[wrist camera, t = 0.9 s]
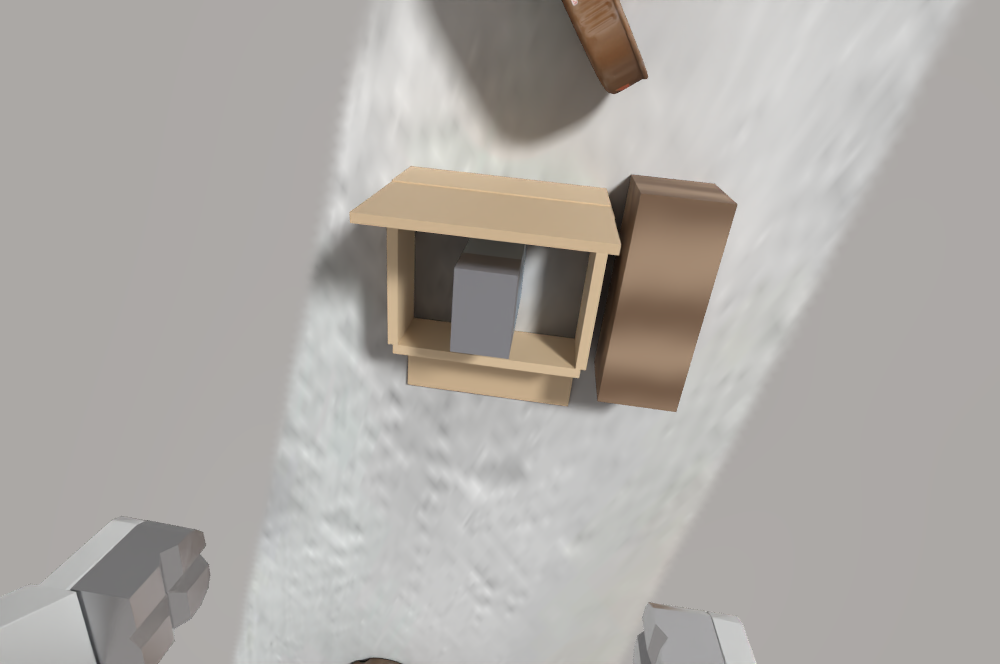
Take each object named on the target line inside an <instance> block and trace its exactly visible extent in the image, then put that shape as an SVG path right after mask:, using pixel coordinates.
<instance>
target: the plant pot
mask: <svg viewBox="0 0 1000 664" xmlns="http://www.w3.org/2000/svg"><path fill="white" fill-rule="evenodd" d="M353 664H401V663H398V662H395V661H391V660H386V659H380V658H371V659H369V660H368V661H366V662H364V663H361V662H360V661H357V662H354V663H353Z"/></svg>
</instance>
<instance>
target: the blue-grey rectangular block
mask: <svg viewBox="0 0 1000 664" xmlns="http://www.w3.org/2000/svg"><path fill="white" fill-rule="evenodd" d="M526 246H527V244H521V243H512V242H504V241H496V240H487V239H479V238H471V237H470V239H469V241H468V243H467V245H466V247H465V249H464V250H463V252H462V254H461V256H460V258H459V260H458V262H457V264H456V266H455V267H454V281H453V301H452V320H451V340H450V351H451V352H458V353H466V354H473V355H481V356H488V357H496V358H503V359H509V355H510V350H511V345H512V340H513V334H514V329H515V324H516V319H517V314H518V309H519V304H520V298H521V289H522V281H523V272H524V263H525V255H526Z"/></svg>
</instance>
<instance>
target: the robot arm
mask: <svg viewBox="0 0 1000 664" xmlns="http://www.w3.org/2000/svg"><path fill="white" fill-rule="evenodd" d="M205 546H206V543H205V539H204V534H203V532H201V531H199V530H195V529H190V528H185V527H179V526H174V525H169V524H164V523H158V522H153V521H148V520H147V521H146V520H140V519H135V518H129V517H124V516H121V517H118V518H116V519H113V520H111V521H110V522H109V523H108V524H106V525H105V526H104V527H103V528H102V529H101V530H100V531H99V532H97V533H96V534H95V535H94V536H93V537H92V538H91V539H90V540H89V541H87V542H86V543H85V544H84V545H83V546H82V547H81V548H79V549H78V550H77V551H76V552H75V553H74V554H73V555H72V556H71V557H70V558H68V559H67V560H66V561H65V562H64V563H63V564H62V565H60V566H59V567H58V568H57V569H56V570H55V571H54V572H52V573H51V574H50V575H49V576H48V577H47V578H46V579H45V580H44V581H42V582H41V583H40V584H39V585H35V584H28V585H26V586H24V587H22V588H19V589H17V590H15V591H12V592H10V593H8V594H6V595H3V596H1V597H0V664H158V663H159V662H160V660H161V659H162V658H163V656H164V655H165V653H166V652H167V651H168V649H169V648H170V647H171V646H172V644H173V643H174V641H175V639H174V636H175V635H174V634H175V633H174V632H175V631H174V630H175V628H176V627H178V626H180V625H182V624H183V623H185V622H187V621H188V620H190V619H191V618H192V617H193V616H194V614H195V613H196V611H197V610H198V608H199V607H200V606H201V604H202V602H203V600H204V597H205V595H206V592H207V590H208V588H209V580H210V569H209V564H208V563H207V562H206V561H205V559H204V558H203V557H202V556H201V555H200V553H201V551H202V550H203V549H204V548H205ZM642 619H643V626H644V632H642V633H641V634H639V635H638V636H637V639H636V643H635V648H634V656H633V664H757V663H756V660H755V658H754V655H753V652H752V649H751V646H750V644H749V641H748V638H747V635H746V632H745V629H744V627H743V624H742V621H741V620H740V619H739V618H738V617H737V616H734V615H728V614H722V613H715V612H709V611H707V612H705V611H704V610H697V609H691V608H684V607H677V606H670V605H664V604H657V603H650V602H648V604H647V605H646V607H645V610H644V613H643V617H642Z"/></svg>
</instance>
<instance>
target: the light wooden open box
mask: <svg viewBox="0 0 1000 664" xmlns="http://www.w3.org/2000/svg"><path fill="white" fill-rule="evenodd" d="M350 223H355V224H363V225H372V226H380V227H387V312H388V344H393V353H395V354H402V355H408V384H409V385H416V386H424V387H431V388H438V389H445V390H453V391H460V392H467V393H474V394H482V395H489V396H496V397H503V398H511V399H518V400H525V401H532V402H540V403H547V404H554V405H561V406H568V402H569V397H570V391H571V386H572V380H573V378H579V376H580V370H586V367H587V361H588V356H589V351H590V346H591V340H592V335H593V330H594V325H595V319H596V314H597V309H598V304H599V299H600V293H601V288H602V283H603V278H604V272H605V267H606V262H607V257H608V254H611V255H619V253H620V248H621V242H620V238H619V235H618V231H617V228H616V224H615V216H614V213H613V209H612V206H611V202H610V200H609V196H608V192H607V189H606V188H598V187H589V186H580V185H571V184H562V183H554V182H545V181H536V180H527V179H518V178H510V177H501V176H492V175H483V174H475V173H466V172H457V171H448V170H439V169H431V168H422V167H413V166H411V167H409V168H408V169H406V170H405V171H404V172H402V173H401V174H399V175H398V176H397V177H395V178H394V179H392V182H390V183H389V184H388V185H386V186H385V187H384V188H382V189H381V190H379V191H378V192H377V193H375V194H374V195H373V196H371V197H370V198H368V199H367V200H366V201H364V202H363V203H361V204H360V205H359V206H357V207H356V208H355V209H353V210H352V211H350ZM415 231H421V232H430V233H438V234H446V235H454V236H463V237H471V238H479V239H487V240H496V241H504V242H512V243H521V244H529V245H537V246H545V247H554V248H562V249H570V250H578V251H587V252H590V254H589V260H588V266H587V271H586V277H585V283H584V289H583V294H582V300H581V306H580V312H579V317H578V323H577V329H576V335H575V339H573V338H566V337H558V336H551V335H543V334H535V333H528V332H520V331H514V334H513V340H512V345H511V350H510V355H509V359H503V358H496V357H488V356H481V355H473V354H466V353H458V352H451V351H450V340H451V322H443V321H436V320H428V319H420V318H414V276H415Z"/></svg>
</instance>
